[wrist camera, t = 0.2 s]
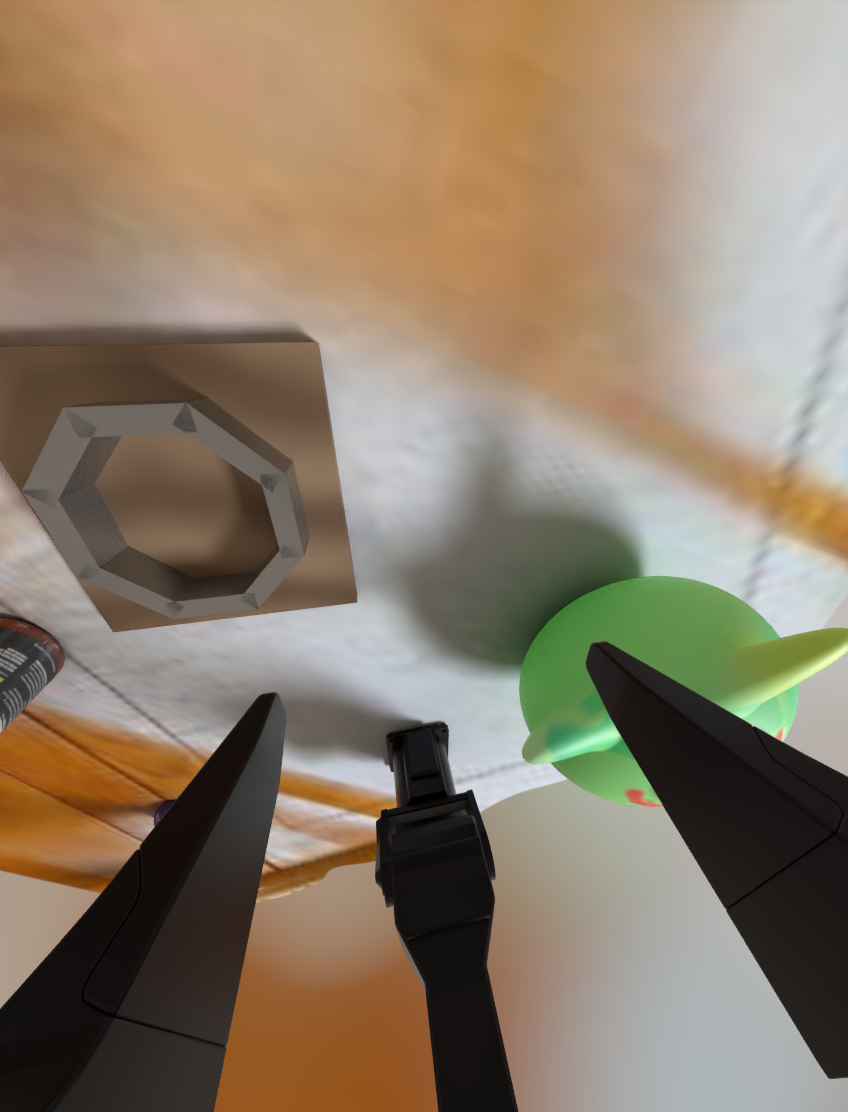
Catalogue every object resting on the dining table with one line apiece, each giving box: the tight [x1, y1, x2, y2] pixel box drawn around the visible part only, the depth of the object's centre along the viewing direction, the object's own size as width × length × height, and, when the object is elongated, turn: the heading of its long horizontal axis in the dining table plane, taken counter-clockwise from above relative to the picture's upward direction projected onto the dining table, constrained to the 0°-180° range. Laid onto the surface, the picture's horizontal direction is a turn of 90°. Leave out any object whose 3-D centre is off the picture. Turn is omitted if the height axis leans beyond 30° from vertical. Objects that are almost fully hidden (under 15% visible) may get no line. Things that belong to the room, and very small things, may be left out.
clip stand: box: [0, 342, 357, 632], centre depth 19 cm, size 16×16×1 cm
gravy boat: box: [519, 576, 848, 807], centre depth 24 cm, size 18×17×15 cm
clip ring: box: [21, 398, 310, 619], centre depth 18 cm, size 11×12×2 cm
